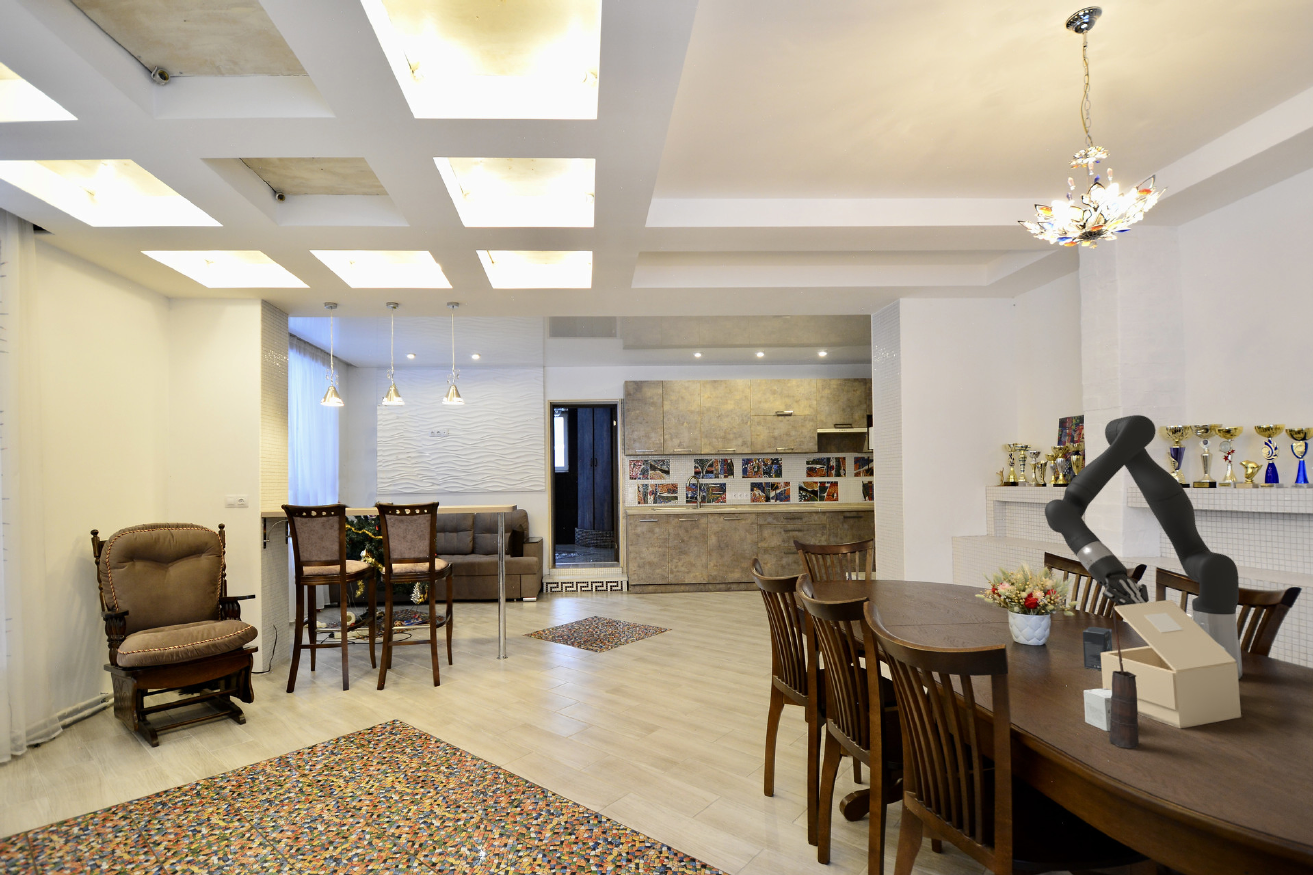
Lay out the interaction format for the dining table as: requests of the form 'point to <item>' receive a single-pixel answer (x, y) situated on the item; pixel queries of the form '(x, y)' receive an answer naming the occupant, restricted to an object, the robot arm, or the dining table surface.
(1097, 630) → the box
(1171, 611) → the top flap
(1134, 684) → the butter churn
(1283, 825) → the dining table surface
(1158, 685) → the carton
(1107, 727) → the skincare box
